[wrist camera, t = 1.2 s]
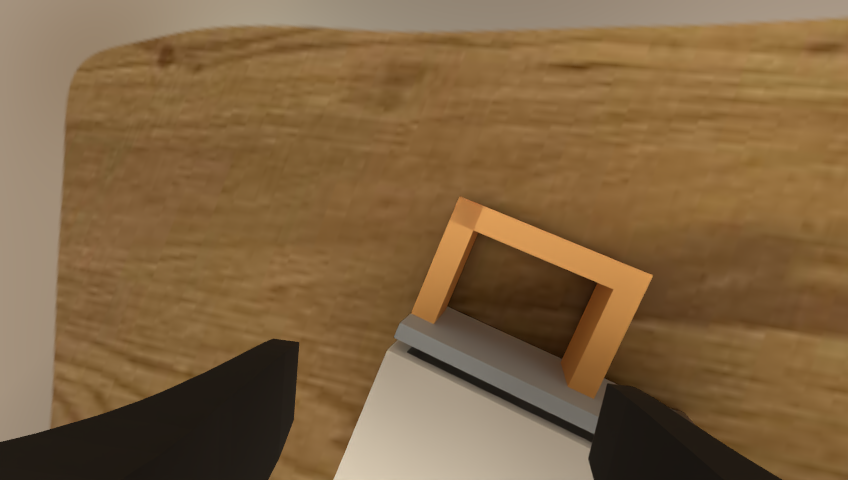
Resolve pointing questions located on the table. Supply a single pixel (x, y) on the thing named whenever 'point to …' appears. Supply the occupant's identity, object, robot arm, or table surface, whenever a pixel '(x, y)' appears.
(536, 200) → the table surface
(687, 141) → the table surface
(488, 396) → the carton
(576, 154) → the table surface
